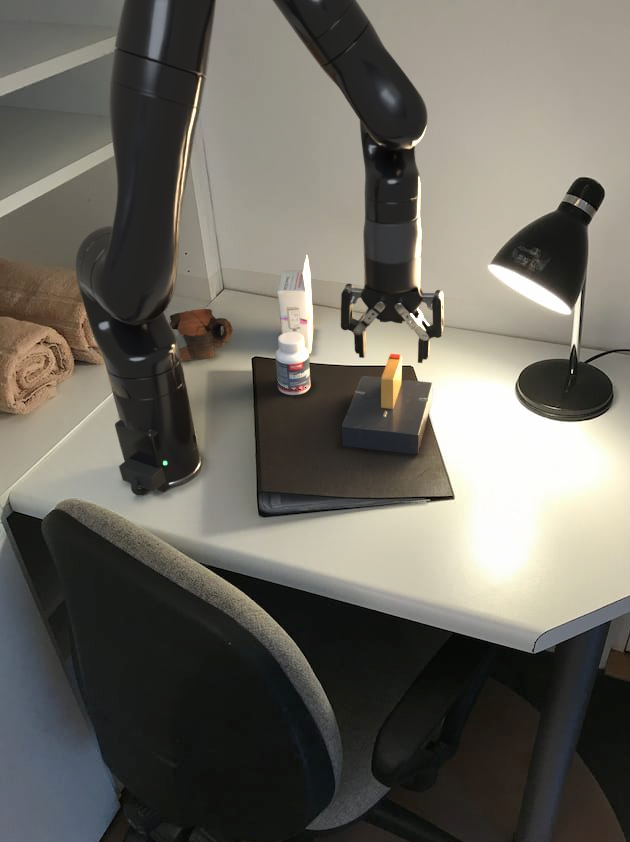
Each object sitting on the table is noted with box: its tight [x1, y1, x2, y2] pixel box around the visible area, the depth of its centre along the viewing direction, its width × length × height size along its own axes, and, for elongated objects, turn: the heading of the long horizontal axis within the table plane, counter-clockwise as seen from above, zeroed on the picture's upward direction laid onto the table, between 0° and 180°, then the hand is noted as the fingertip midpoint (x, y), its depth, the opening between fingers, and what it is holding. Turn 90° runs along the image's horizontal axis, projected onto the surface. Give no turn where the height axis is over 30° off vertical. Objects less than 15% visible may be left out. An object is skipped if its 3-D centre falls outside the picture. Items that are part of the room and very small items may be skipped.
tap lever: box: [380, 353, 403, 409], centre depth 111 cm, size 7×2×5 cm, turn 168°
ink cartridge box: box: [276, 254, 314, 355], centre depth 128 cm, size 9×5×15 cm, turn 179°
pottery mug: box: [169, 308, 234, 362], centre depth 131 cm, size 12×10×8 cm
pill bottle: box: [274, 332, 311, 396], centre depth 119 cm, size 5×5×9 cm
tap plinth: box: [341, 375, 433, 455], centre depth 112 cm, size 15×11×4 cm
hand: (392, 357), depth 109 cm, fingers open, 8 cm apart
